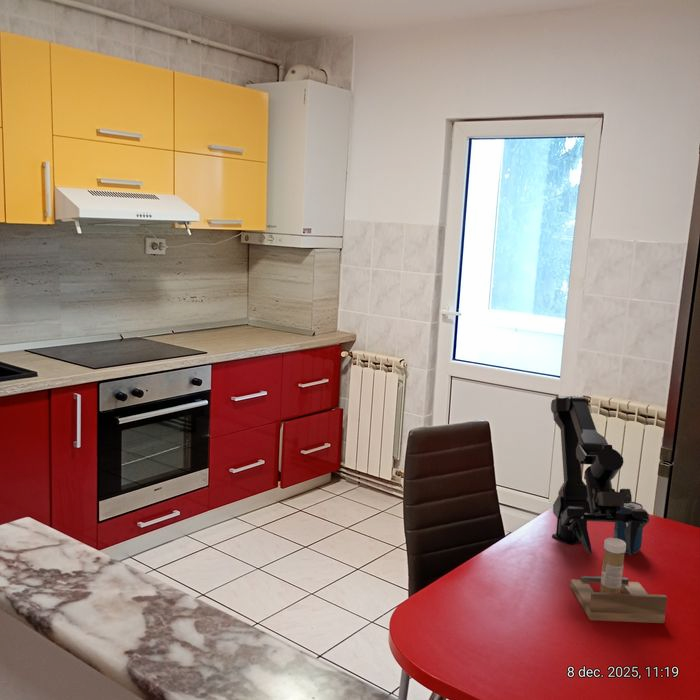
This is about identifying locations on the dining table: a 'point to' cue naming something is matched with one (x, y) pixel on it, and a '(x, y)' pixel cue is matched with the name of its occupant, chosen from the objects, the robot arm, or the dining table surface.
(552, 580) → the dining table surface
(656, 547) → the dining table surface
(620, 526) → the soda can
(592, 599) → the wooden frame
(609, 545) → the sprinkles bottle
